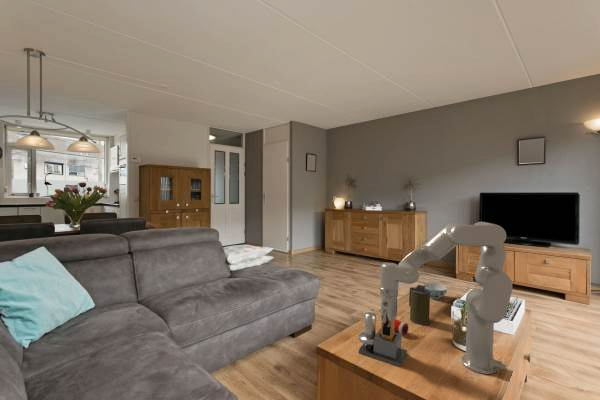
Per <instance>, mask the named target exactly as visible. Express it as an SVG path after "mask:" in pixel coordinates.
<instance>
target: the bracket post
mask: <svg viewBox="0 0 600 400" xmlns="http://www.w3.org/2000/svg"><path fill="white" fill-rule="evenodd" d="M376 327H377V314H376V313H375V312H369V311H367V312H365V314H364V331H363V332H359V334H358V340H359V341H360V342H361V344H362V343H363V344H362V345H361V347H359V348H358V354H361V355H363V356H366V357H370V358H371V359H375V360H379V361H381V362H385V363H387V364H391V365H394V366H396V367H399V368H401V367H402V365H403V362H404V360H405V359H406V356H407V355H408V350H407V349H404V348H402V337H403V336H402V334H399V332H396V331H394V340H393V341H392V340H389V339H385V338H382V337H381V328H380V329H379V330H378V331H376V330H377V328H376Z"/></svg>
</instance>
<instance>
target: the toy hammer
mask: <svg viewBox="0 0 600 400" xmlns="http://www.w3.org/2000/svg"><path fill="white" fill-rule="evenodd" d="M394 332H395V333H398V334H402V337H403V336H405V335H407V333H408V332H409V323H408V322H405V321H400V320H398V319H395V327H394Z"/></svg>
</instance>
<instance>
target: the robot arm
mask: <svg viewBox="0 0 600 400" xmlns="http://www.w3.org/2000/svg"><path fill="white" fill-rule="evenodd" d="M506 239H507V232H506V230H505V229H504V228H503V227H502V226H501V225H498V224H495V223H491V222H485V221H478V222H475V223H474V224H463V223H461V222H454V221H453V222H449V223H448V224H446V225H445V226H444V227H443V228H441V229H440V230H439V231H438V232H437V233H436V234H435V235H433V236H432V238H430V239H429V240H428V241H426V242H425V243H424V244H422V245H420V246H419V247H417V248H415V249H414V250H413V251H411V252H410V253H408V254H407V255H406V256H405V257H404V258H403V259H402V260H401V261H399V263H398V264H396V263H394V262H382V264H381V266H380V283H379V284H380V285H379V286H380V290H379V291H380V292H379V293H380V296H381V303H380V318H381V322H382V323H383V328H382V334H383V335H387V336H390V321H392V320H393V319H394V318H396V316H397V315H398V297H399V283H403V284H415V283H417V282H418V281H419V278H420V274H419V271H418V269H419V268H421V266H423V265H425V264H427V263H429V262H433V261H438V260H441V259H442V258H443V257H445V256H446V255H447V254H448V253H450V252H451V251H452V250H454V248H455V247H457V246H459V247H461V246H462V247H480V253H479V254H480V255H479V260H478V263H477V267H476V269H475V274H474V280H475V281H476V283H477V284H478V285H479V286H480V287H481V288H482V289H481V288H473V289H471V290H469V291H468V292H467V293H466V297H465V309H466V331H465V333H466V334H465V335H466V337H465V338H466V339H465V354H463V355H462V356H461V359H460V360H461V363H462V365H464V366H465V367H466V368H468V369H469V370H471V371H473V372H476V373H480V374H484V375H493V374H496V372H497V371H498V369H500V370H504V371H507V364H504V363H503V361H501V360H497V359H495V358H494V355H493V354H494V333H495V331H494V328H495V327H494V325H495V324H497V323H499V322H501V321H502V320H503V319H504V318H505V316H506V314H507V311H508V308H509V303H510V300H511V298H512V292H513V282H512V279H511V277H510V276H509V275H508V274H507V273H506V272H504V271H503V270H504V264H505V260H506V255H507V254H506V247H505V241H506ZM386 318H388V319H386ZM382 319H383V320H382ZM386 320H387V321H388V322H386Z"/></svg>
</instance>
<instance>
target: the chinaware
mask: <svg viewBox="0 0 600 400" xmlns="http://www.w3.org/2000/svg"><path fill="white" fill-rule="evenodd" d="M423 286H426V287H425V289H428V290H429V291H430V299H432V300H440V299H441V298H443V297H444V296H445V295H446V294H447V291H448V288H447V287H446V286H445V285H442V284H438V283H434V282H433V283H431V282H429V283H424V284H423Z"/></svg>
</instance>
